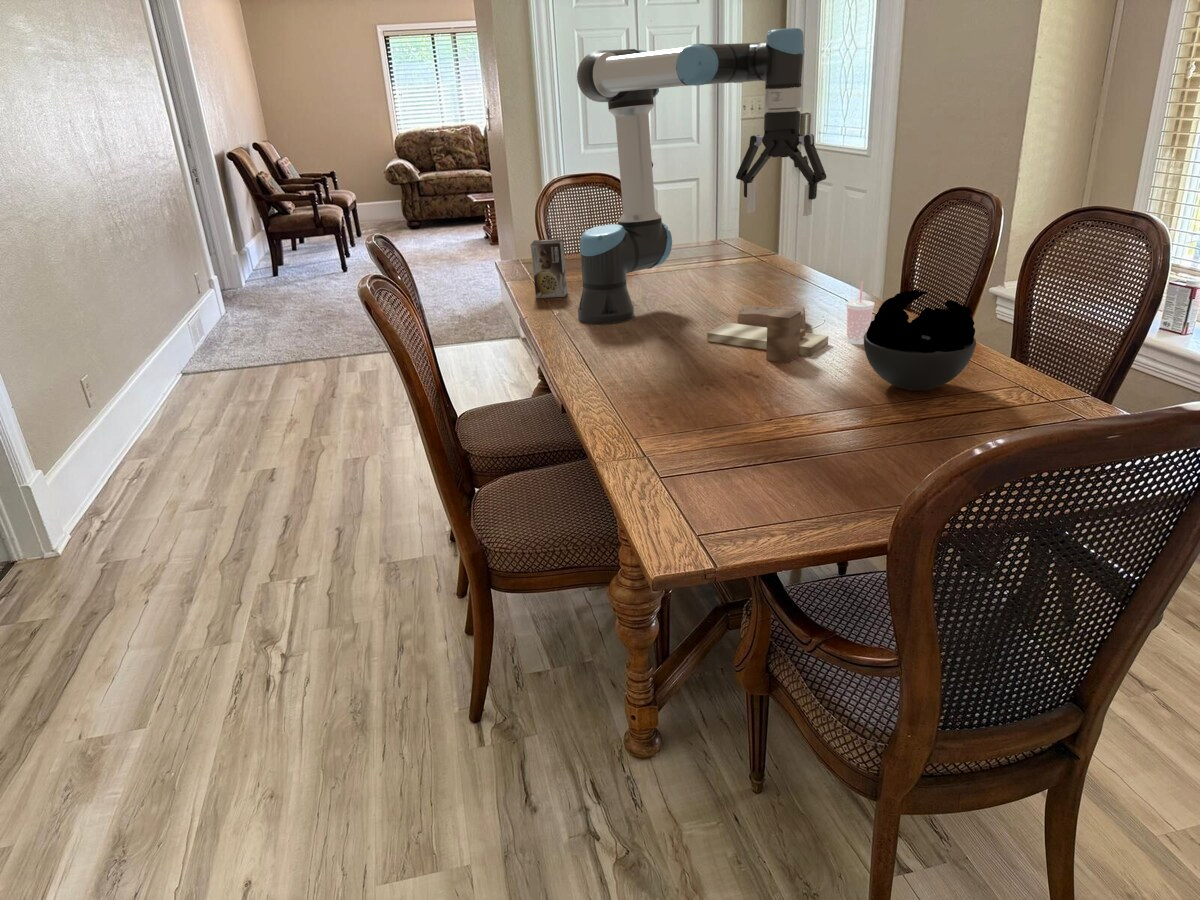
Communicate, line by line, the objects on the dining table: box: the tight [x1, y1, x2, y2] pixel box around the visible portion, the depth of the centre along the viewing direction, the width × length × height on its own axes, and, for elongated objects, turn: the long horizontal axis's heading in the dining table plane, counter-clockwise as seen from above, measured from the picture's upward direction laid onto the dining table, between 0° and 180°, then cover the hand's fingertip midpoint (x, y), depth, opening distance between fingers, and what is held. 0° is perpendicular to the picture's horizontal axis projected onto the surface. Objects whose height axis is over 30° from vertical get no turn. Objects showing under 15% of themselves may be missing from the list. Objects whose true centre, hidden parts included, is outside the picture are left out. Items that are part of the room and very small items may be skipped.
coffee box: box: [530, 238, 568, 299], centre depth 239 cm, size 9×6×16 cm
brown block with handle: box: [765, 309, 806, 364], centre depth 177 cm, size 5×13×10 cm, turn 144°
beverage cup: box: [845, 280, 875, 345], centre depth 182 cm, size 6×6×14 cm
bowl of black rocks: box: [863, 289, 977, 391], centre depth 152 cm, size 20×20×19 cm
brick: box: [737, 304, 806, 329], centre depth 199 cm, size 17×8×5 cm, turn 79°
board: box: [706, 321, 829, 357], centre depth 187 cm, size 26×10×2 cm, turn 53°
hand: (778, 213), depth 179 cm, fingers open, 13 cm apart
